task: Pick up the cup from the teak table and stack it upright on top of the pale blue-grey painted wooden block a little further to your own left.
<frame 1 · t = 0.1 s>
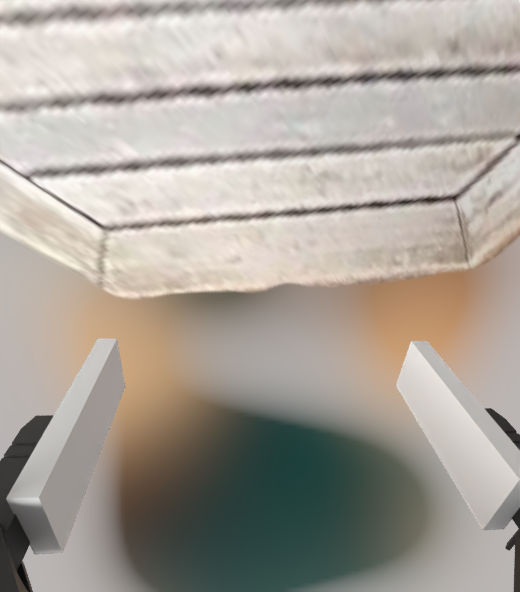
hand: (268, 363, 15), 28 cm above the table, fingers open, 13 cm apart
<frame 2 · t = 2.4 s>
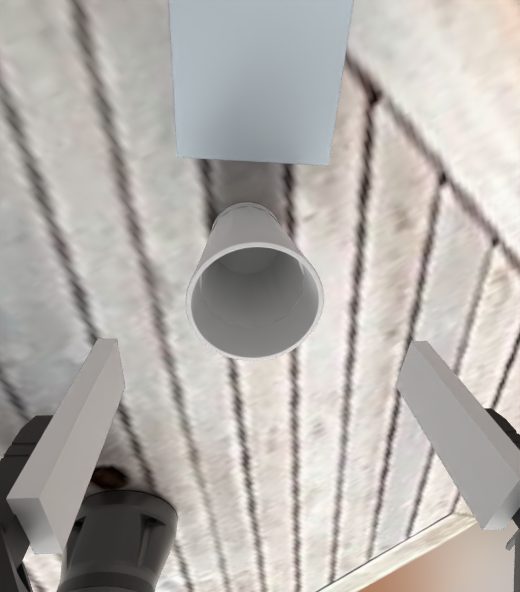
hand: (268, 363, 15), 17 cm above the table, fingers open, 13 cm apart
pedestal block: (253, 77, 24), on the table
cup: (246, 237, 30), on the table
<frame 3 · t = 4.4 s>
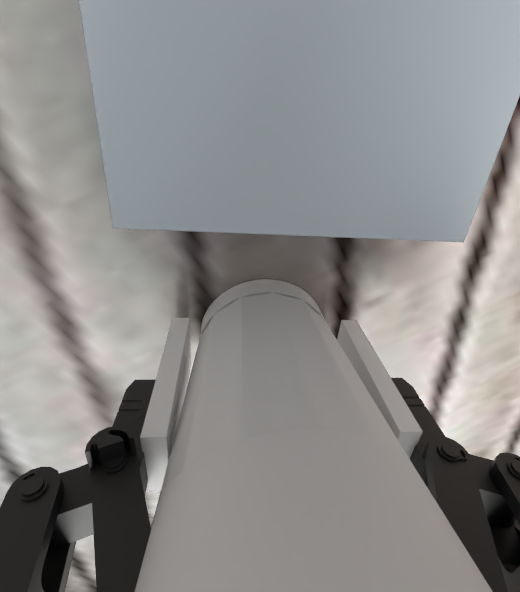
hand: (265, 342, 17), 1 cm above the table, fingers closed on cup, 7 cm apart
pedestal block: (289, 45, 11), on the table
cup: (262, 332, 17), on the table, touching gripper
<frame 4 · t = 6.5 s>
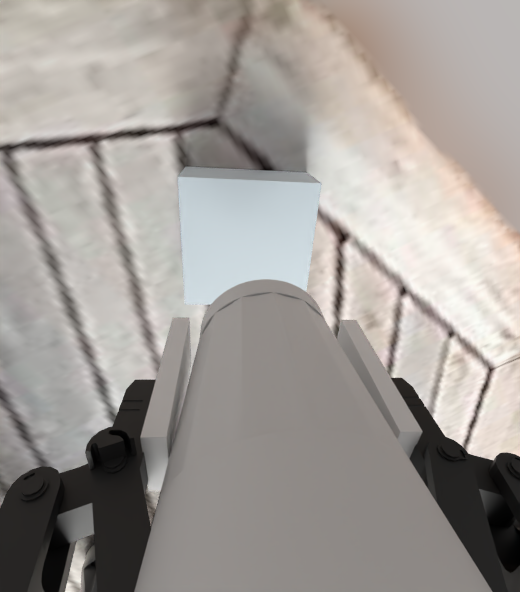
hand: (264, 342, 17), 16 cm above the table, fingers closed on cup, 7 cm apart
pedestal block: (245, 228, 30), on the table
cup: (262, 332, 17), point 15 cm above the table, touching gripper
when the fingers open (7 cm above the table, at t = 8.5 s): cup drops 1 cm, resting on pedestal block.
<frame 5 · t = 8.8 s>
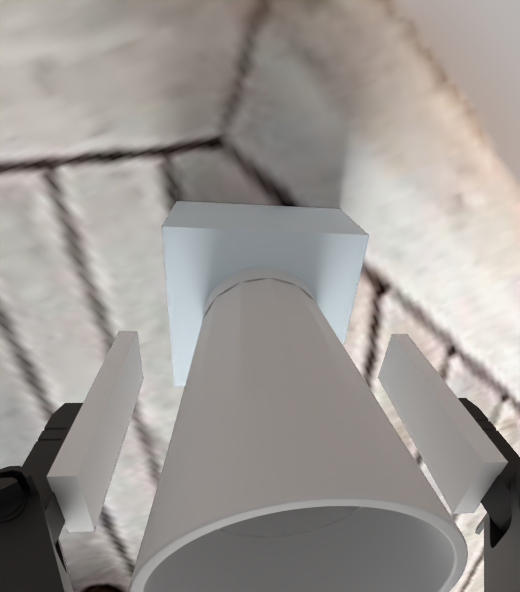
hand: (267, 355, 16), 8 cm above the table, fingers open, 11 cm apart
pedestal block: (255, 278, 23), on the table
cup: (260, 317, 19), point 5 cm above the table, touching pedestal block
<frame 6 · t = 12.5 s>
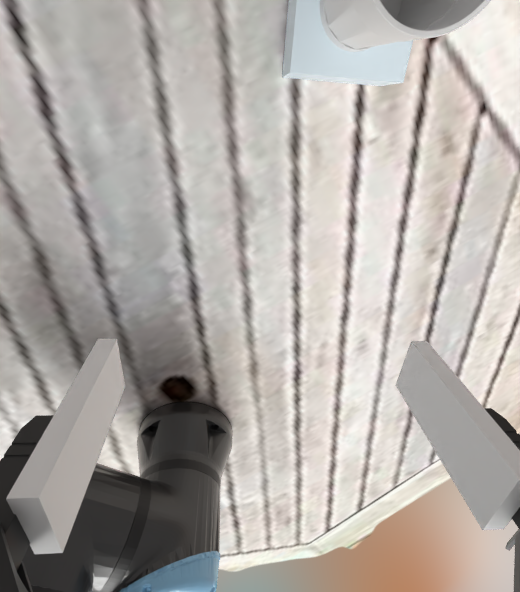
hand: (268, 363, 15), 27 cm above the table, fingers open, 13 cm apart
pedestal block: (341, 17, 31), on the table
cup: (358, 3, 26), point 5 cm above the table, touching pedestal block
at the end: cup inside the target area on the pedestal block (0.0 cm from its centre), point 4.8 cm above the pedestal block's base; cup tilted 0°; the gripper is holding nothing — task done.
